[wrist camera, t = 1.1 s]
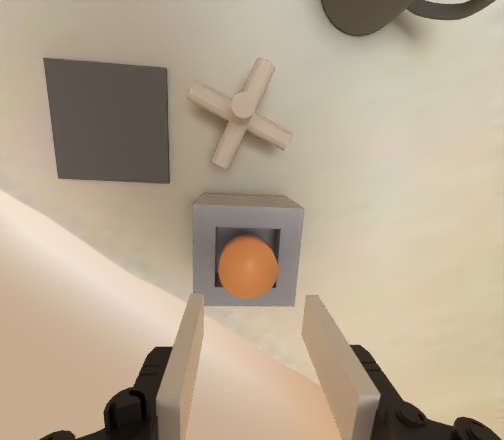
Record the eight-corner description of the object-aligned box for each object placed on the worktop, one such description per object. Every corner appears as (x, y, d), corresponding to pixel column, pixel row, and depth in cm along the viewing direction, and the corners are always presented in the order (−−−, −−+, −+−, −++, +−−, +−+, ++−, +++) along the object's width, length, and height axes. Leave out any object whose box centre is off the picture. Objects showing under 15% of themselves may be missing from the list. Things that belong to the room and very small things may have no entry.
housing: (203, 193, 30) (193, 204, 22) (286, 196, 30) (304, 208, 23) (203, 270, 32) (193, 305, 24) (279, 271, 33) (294, 306, 25)
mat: (47, 59, 25) (43, 57, 25) (166, 69, 26) (165, 67, 26) (61, 178, 28) (58, 178, 28) (169, 183, 29) (168, 183, 29)
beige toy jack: (299, 104, 28) (333, 73, 18) (259, 183, 30) (271, 194, 20) (218, 57, 26) (209, -3, 17) (181, 144, 28) (153, 135, 19)
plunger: (220, 233, 22) (219, 242, 20) (275, 234, 23) (280, 243, 20) (219, 283, 24) (217, 298, 21) (271, 284, 24) (276, 298, 21)
